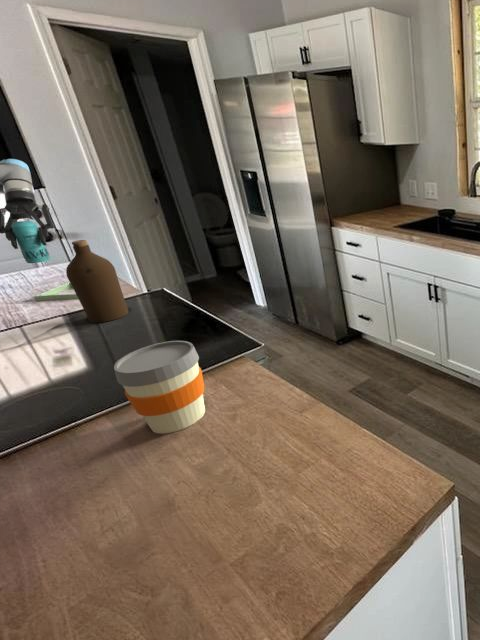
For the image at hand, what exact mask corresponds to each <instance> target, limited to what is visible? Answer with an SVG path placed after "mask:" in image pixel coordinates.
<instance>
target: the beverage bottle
mask: <svg viewBox="0 0 480 640" xmlns="http://www.w3.org/2000/svg"><path fill="white" fill-rule="evenodd" d="M11 217H12V219H19V221H17V222H14V223H13V224H12V225H11V228H12V230H13V232H14V234H15V237H16V240H17V245H18V247H19V249H20V252H21V254H22V256H23V259H24V261H25V262H26V263H27V264H38V263H45V262H49V261H51V256H50V253H49V251H48V248H47V247H46V246H47V244H46V245H45V246H44V245H43V244H42V243H41V240H40V235H39V230H38V226H37V222H34V221H32V220H22V219H29V218H30V216H28V215H27V213H26V212H16V213H11Z"/></svg>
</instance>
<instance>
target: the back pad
mask: <svg viewBox="0 0 480 640" xmlns="http://www.w3.org/2000/svg"><path fill="white" fill-rule="evenodd" d="M71 290H73V291H74V289H73V287H72V285H71V283H70V281H68V282H66V283H63V284H60V285H59V286H55V287H53V288H51V289H48V290H46V291H44V292H41V293H38V294H36V295H33V297H34V299H35V302H36V301H38V302H39V301H40V302H41V301H54V300H55V301H56V300H57V301H58V300H77V299H78V297H77V295H76V293H61V292H63V291H71ZM78 300H79V299H78Z"/></svg>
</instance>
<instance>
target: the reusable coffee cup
mask: <svg viewBox="0 0 480 640" xmlns="http://www.w3.org/2000/svg"><path fill="white" fill-rule="evenodd" d="M199 360H200V356H199V354H198V352H197V350H196V348H195V346H194V344H193V343H192V342H189V341H188V340H170V341H163V342H158V343H154V344H150V345H146V346H144V347H141V348H138V349H136V350H133V351H132V352H131V351H130V352H129V353H127V354H125V355H124V356H122V357H121V358H120V359H118V360H117V361H116V362H115V363H114V365H113V369H114V374H115V378H116V381H117V383H118V384H119V386H122V388H124V396H125V397H126V399H127V400H128V402H129V403H130V405H131V406H132V407H133V410H135V412H136V413H137V414H138V415H140V416H142V417H143V419H144V420H145V422H146V423H147V425H148V427H149V428H150V430H151V431H152V432H153V433H155V434H158V435H159V434H163V435H164V434H171V433H175V432H178V431H182V430H184V429H186V428H188V427H191V426H192V425H194V424H195V423H197V422H199V421H200V419H202V417H204V415H205V413H206V407H205V399H204V392H205V383H204V377H203V370H202V368H201V367H200V366H199Z"/></svg>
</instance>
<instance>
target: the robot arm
mask: <svg viewBox="0 0 480 640" xmlns="http://www.w3.org/2000/svg"><path fill="white" fill-rule="evenodd" d="M31 174H32V173H31V171H30V168H29V166H28V164H27V163H26V162H24V161H22V160H20V159H16V158H7V159H2V160H0V185H2V187H3V188H2V189H3V194H4V200H5V206H4V207H2V208H0V234H1V235H2V234H5V235H4V236H5V238H6V239H7V241H9V242H10V244H11V247H13V248H14V250H18V249H19V245H18V242H17V239H16V237H15V234H14V232H13V230H12V228H11V225H12V224H13V223H14V222H18V220H19V221H20V219H12V217H11V213H16V212H26V213H27V215H28V216H29V217H31V218H32V219H33V220H34V221H35V223H36V224H37V225H39V226H37V228H38V231H39V235H40V240H41V243H42V244H43V245H44V246H45V245H46V246H47V240H46V238H48V237H49V229H51V230H52V229H54V228H55V225H54V223H53V221H52V217H51V215H50V207H49V206H48V205H47V204H46V203H44V204H40V205H39V204H38V203H37V200H36V196H35V189H34V184H33V179H32V175H31ZM39 210H40V211H41V213H42V214H43V217H44V220H45V223H44V222H43V221H42V220H41V219H40V218H39V217H38V216H37V214H36V213H37V211H39ZM7 212H8V213H9V217H8V219H7V221H6V220H5V218H6V217H5V215H6V213H7ZM5 223H6V224H5ZM46 246H45V247H46Z"/></svg>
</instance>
